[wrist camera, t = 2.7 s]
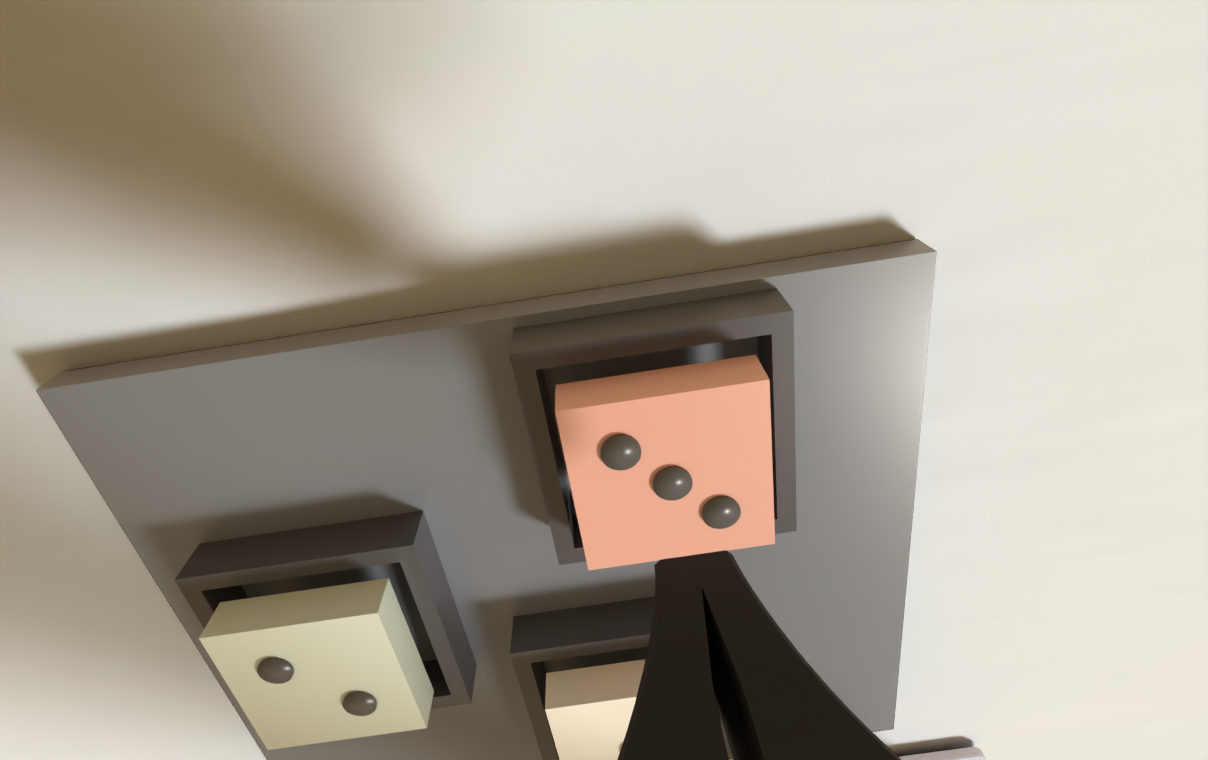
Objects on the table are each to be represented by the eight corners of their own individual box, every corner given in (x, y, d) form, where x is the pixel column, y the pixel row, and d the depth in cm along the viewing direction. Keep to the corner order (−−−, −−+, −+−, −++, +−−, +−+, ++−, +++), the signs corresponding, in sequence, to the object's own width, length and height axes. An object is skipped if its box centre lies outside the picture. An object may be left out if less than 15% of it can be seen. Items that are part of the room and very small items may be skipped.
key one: (711, 747, 22) (719, 787, 21) (572, 766, 22) (572, 807, 21) (700, 651, 20) (708, 690, 19) (546, 673, 20) (544, 712, 19)
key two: (433, 691, 20) (426, 731, 19) (283, 712, 20) (266, 753, 19) (388, 578, 18) (376, 615, 17) (219, 602, 18) (197, 641, 17)
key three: (762, 511, 18) (776, 546, 17) (587, 537, 18) (588, 573, 17) (755, 354, 16) (771, 381, 14) (555, 384, 16) (554, 414, 15)
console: (882, 704, 26) (910, 766, 23) (307, 783, 26) (284, 850, 24) (917, 238, 17) (967, 271, 15) (62, 371, 18) (-7, 420, 16)
